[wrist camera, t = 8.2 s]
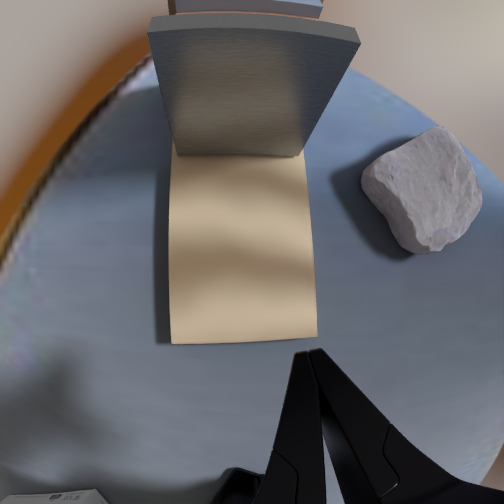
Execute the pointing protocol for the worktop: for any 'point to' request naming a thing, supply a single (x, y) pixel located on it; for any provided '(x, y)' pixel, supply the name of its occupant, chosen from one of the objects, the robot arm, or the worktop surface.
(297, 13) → the book
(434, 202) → the stone block
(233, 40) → the grey flat rectangular panel
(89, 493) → the tea box
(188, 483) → the worktop surface
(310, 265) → the wooden book rack
